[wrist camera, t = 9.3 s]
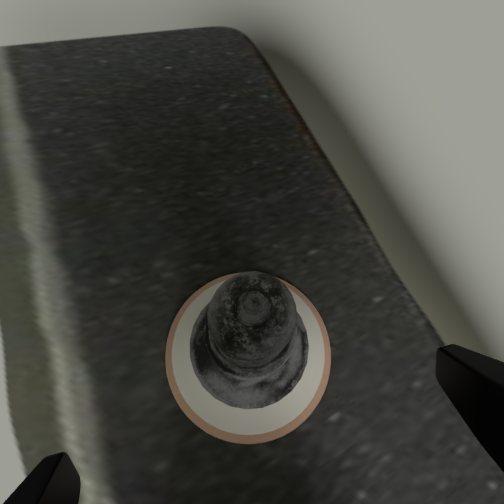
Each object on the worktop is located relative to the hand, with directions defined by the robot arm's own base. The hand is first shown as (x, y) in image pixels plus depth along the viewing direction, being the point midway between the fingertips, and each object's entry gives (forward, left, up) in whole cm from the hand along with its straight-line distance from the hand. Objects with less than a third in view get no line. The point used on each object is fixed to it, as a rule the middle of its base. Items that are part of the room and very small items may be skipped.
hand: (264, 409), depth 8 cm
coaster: (+2, -2, -13) cm, 13 cm away
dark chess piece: (+2, -2, -12) cm, 12 cm away
